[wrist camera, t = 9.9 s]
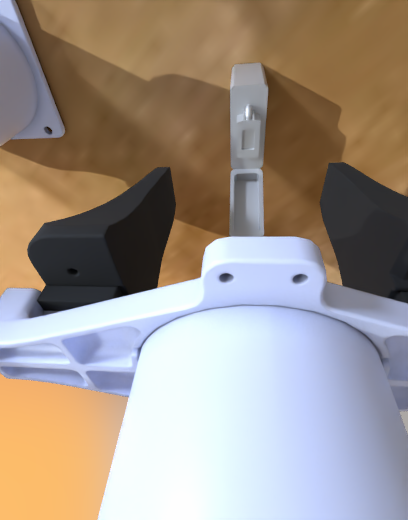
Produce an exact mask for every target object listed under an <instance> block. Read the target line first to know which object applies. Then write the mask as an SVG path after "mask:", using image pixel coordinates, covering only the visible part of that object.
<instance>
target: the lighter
mask: <svg viewBox="0 0 408 520" xmlns="http://www.w3.org/2000/svg"><path fill="white" fill-rule="evenodd" d="M267 100H268V85H267V80H266V76H265V72H264V67H263V65H262V64H261V63H249V64H235V65H234V66H233V68H232V75H231V86H230V131H231V167H232V168H233V169H234V170H232V171H231V184H230V230H229V236H230V237H264V211H263V171H262V170H260V168H261V167H262V166H263V156H264V142H265V128H266V114H267Z"/></svg>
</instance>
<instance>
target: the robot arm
mask: <svg viewBox="0 0 408 520" xmlns="http://www.w3.org/2000/svg"><path fill="white" fill-rule="evenodd" d="M47 127H49V128H51V130H52V132H50V131H48V129H47ZM64 134H65V128H64V125H63V123H62V120H61V117H60V115H59V112H58V110H57V107H56V104H55V102H54V99H53V97H52V94H51V91H50V89H49V86H48V84H47V81H46V78H45V76H44V73H43V71H42V68H41V65H40V63H39V60H38V58H37V55H36V52H35V50H34V47H33V45H32V42H31V39H30V37H29V34H28V32H27V29H26V27H25V24H24V21H23V19H22V16H21V14H20V11H19V8H18V6H17V3H16V1H15V0H0V146H2V145H3V144H4V143H6V142H7V141H8V140H10V139H35V138H59V137H62V136H63V135H64ZM175 207H176V202H175V195H174V189H173V183H172V177H171V171H170V167H157V168H156V169H154V170H153V171H152V172H150V173H149V174H148V175H147V176H145V177H144V178H143V179H142V180H140V181H139V182H138V183H137V184H135V185H134V186H133V187H131V188H130V189H128V190H127V191H125V192H124V193H123V194H121V195H120V196H118V197H116V198H115V199H113V200H111V201H109V202H107V203H105V204H103V205H101V206H99V207H96V208H94V209H92V210H89V211H87V212H84V213H81V214H78V215H75V216H72V217H68V218H65V219H61V220H56V221H52V222H48V223H44V224H43V226H42V227H41V228H40V230H39V231H38V232H37V234H36V235H35V236H34V238H33V239H32V240H31V242H30V243H29V245H28V249H27V251H28V257H29V259H30V261H31V263H32V264H33V266H34V267H35V269H36V270H37V272H38V273H39V275H40V276H41V278H42V279H43V281H44V282H45V284H46V286H45V288H44V289H43V291H42V292H41V291H39V290H37V289H33V288H7V289H6V290H5V291H4V293H3V294H2V296H1V297H0V373H1V374H2V375H3V376H4V377H6V378H9V379H22V380H33V381H41V382H49V383H56V384H61V385H67V386H73V387H78V388H83V389H88V390H94V391H99V392H104V393H109V394H115V395H120V396H125V397H129V400H128V403H127V407H126V411H125V415H124V419H123V423H122V427H121V431H120V435H119V439H118V442H117V447H116V450H115V455H114V458H113V462H112V467H111V470H110V474H109V478H108V481H107V485H106V489H105V493H104V497H103V501H102V505H101V509H100V513H99V517H98V520H408V434H407V431H406V429H405V426H404V423H403V421H402V418H401V415H400V412H401V411H408V197H406V196H404V195H401V194H399V193H397V192H395V191H393V190H391V189H389V188H387V187H385V186H383V185H381V184H380V183H378V182H376V181H374V180H373V179H371V178H369V177H368V176H366V175H364V174H363V173H361V172H360V171H358V170H356V169H355V168H353V167H352V166H350V165H348V164H346V163H344V162H340V163H329V165H328V169H327V173H326V178H325V182H324V186H323V191H322V195H321V199H320V207H321V213H322V218H323V221H324V224H325V227H326V230H327V233H328V235H329V238H330V241H331V244H332V246H333V249H334V252H335V254H336V258H337V261H338V265H339V270H340V274H341V279H342V284H343V286H341V285H337V284H333V283H329V282H327V278H326V270H325V266H324V263H323V259H322V256H321V252H320V249H319V247H318V246H317V245H316V244H314V243H313V242H312V241H311V240H309V239H305V238H300V237H226V238H221V239H217V240H215V241H213V242H212V243H211V244H210V245H208V246H207V247H206V249H205V253H204V257H203V264H202V272H201V277H200V278H197V279H193V280H189V281H185V282H181V283H177V284H173V285H168V286H164V287H160V288H157V286H158V279H159V273H160V267H161V262H162V257H163V253H164V250H165V247H166V244H167V241H168V237H169V234H170V231H171V228H172V224H173V221H174V215H175Z"/></svg>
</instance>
